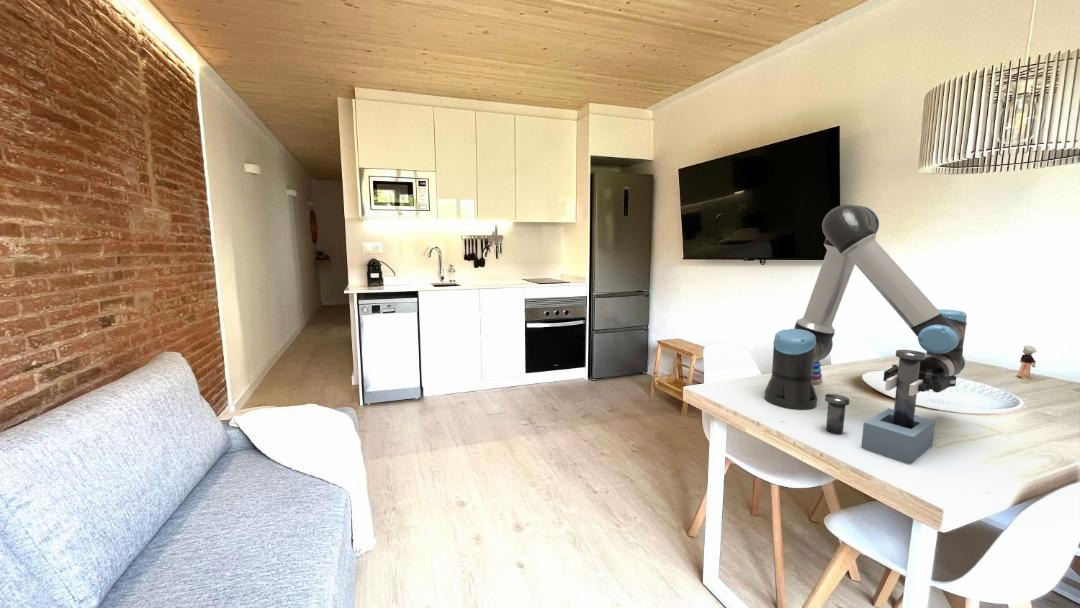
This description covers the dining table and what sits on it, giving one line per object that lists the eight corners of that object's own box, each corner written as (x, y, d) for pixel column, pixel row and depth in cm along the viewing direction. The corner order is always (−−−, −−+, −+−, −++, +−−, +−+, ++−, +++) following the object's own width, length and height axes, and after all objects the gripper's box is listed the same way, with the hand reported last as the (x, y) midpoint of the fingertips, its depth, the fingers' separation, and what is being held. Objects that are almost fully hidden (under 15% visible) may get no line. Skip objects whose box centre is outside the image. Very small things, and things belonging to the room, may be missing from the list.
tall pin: (883, 422, 114) (891, 349, 111) (908, 424, 112) (916, 350, 109) (896, 432, 108) (904, 355, 105) (922, 433, 107) (931, 355, 104)
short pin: (819, 426, 124) (821, 393, 123) (840, 427, 123) (843, 394, 122) (827, 435, 119) (830, 400, 117) (850, 436, 118) (853, 401, 116)
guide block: (885, 431, 120) (888, 408, 119) (932, 445, 112) (935, 420, 111) (861, 447, 111) (863, 422, 110) (909, 464, 103) (913, 437, 102)
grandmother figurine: (1009, 374, 166) (1014, 342, 164) (1021, 375, 165) (1026, 343, 163) (1027, 381, 158) (1032, 348, 156) (1039, 382, 157) (1045, 348, 155)
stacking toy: (812, 377, 166) (816, 330, 163) (826, 384, 158) (831, 335, 155) (792, 378, 166) (796, 330, 163) (805, 385, 158) (810, 335, 155)
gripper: (972, 392, 112) (943, 413, 99) (892, 375, 126) (857, 392, 113) (976, 364, 111) (947, 382, 98) (894, 350, 125) (859, 365, 112)
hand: (899, 387), depth 106 cm, fingers closed on tall pin, 4 cm apart
